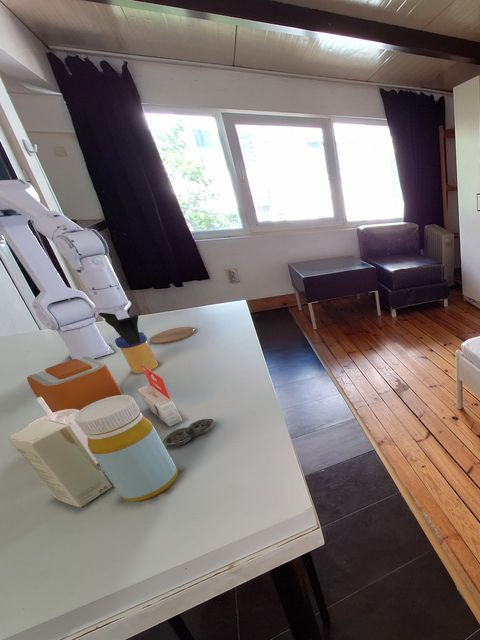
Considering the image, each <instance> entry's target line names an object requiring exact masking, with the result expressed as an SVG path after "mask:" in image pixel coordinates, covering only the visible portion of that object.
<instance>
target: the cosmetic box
mask: <svg viewBox="0 0 480 640" xmlns="http://www.w3.org/2000/svg"><path fill="white" fill-rule="evenodd" d="M6 439H7V440H8V441H9V442H10V444H11V445H12V447H14V449H15V450H16V451H17V452H18V453H19V455H20V456H21V457H22V459H23V460H24V461H25V462H26V463H27V465H28V466H29V467H30V468H31V469H32V471H33V472H34V473H35V474H36V476H37V477H38V478H39V479H40V480H41V482H42V483H43V485H44V486H45V487H46V488H47V489H48V490H49V492H50V493H51V494H52V495H53V496H54V497H55V499H56V500H58V501H60V502H62V503H65V504H68V505H71V506H74V507H77V508H82V507H84V506H85V505H87V504H89V503H90V502H92V501H93V500H94V499H96V498H97V497H99V496H100V495H102V494H104V493H105V492H107V491H108V490H109V489H111V488H112V487H113V484H112V483H111V482H110V480H108V479H107V478H108V477H106V476H105V473H103V472H102V470H101V469H100V468H99V467H100V466H98V464H96V463H95V462H94V460H93V459H92V457H91V456H90V455H89V453H88V452H87V450H86V449H85V448H84V446H83V445H82V443H81V442H80V441H79V439H78V438H77V436H76V435H75V433H74V432H73V431H72V429H71V428H70V426H69V425H67V424H64V423H60V422H56V421H51V420H46V419H45V420H43V421H41V422H38V423H36V424H34V425H32V426H30V427H28V428H26V427H24V428H23V429H21V430H19V431H17V432H14V433H12V434H10V435H8V436H7V437H6Z"/></svg>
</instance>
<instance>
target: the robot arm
mask: <svg viewBox="0 0 480 640" xmlns="http://www.w3.org/2000/svg"><path fill="white" fill-rule="evenodd" d="M39 196H40V195H39V194H38V192H37V191H36V189H35V188H34V186H33V185H32V184H31V183H30V182H28V181H26V180H25V179H24V178H16V179H1V180H0V234H1V235H2V236H3V238H4V240H5V241H6V242H7V244H8V245H9V248H11V250H12V251H13V253H14V254H15V256H16V257H17V258H18V260H19V262H20V263H21V265H22V266H23V268H24V269H25V271H26V272H27V274H28V275H29V276H30V278H31V280H32V282H33V283H34V284H35V286H36V287H37V289H38V290H39V291H40V292H39V294H38V295H37V296H36V297H35V298H34V299H33V301H32V303H31V305H32V308H33V310H34V312H35V314H36V317H37V318H38V320H39V321H40V323H41V324H42V325H43V326H44V327H45V328H47V329H48V330H51V331H57V333H58V335H59V336H60V338H61V339H62V341H63V343H64V344H65V347H66V348H67V349H68V352H69V356H70V358H71V360H73V359H80V358H83V357H90V358H93V359H96V358H100V357H104V356H107V355H111V354H113V353H114V350H113V349H112V348H111V347H110V346H109V344H108V343H107V342H106V341H105V339H104V337H103V336H102V334H101V332H100V331H99V329H98V326H97V325H96V323H95V322H97V318H98V315H99V316H100V317H101V318H102V319H104V322H106V324H108V325H109V326H111V327H112V328H113V329H114V331H116V333H117V334H118V335H119V337H121V336H122V337H123V339H124V340H125V341H126V342H127V343H128V344H129V345H134V344H137V343H140V336H139V332H140V331H139V326H138V323H139V314H138V313H133V314H130V310H131V308H130V307H131V306H132V302H131V301H130V300H129V299H128V297H127V295H126V292H125V291H124V289H123V287H122V285H121V282H120V281H119V278H118V277H117V274H116V273H115V271H114V268H113V266H112V265H111V263H110V261H109V258H108V257H107V256H108V255H109V253H110V250H109V246H108V243H107V241H106V239H105V238H104V237H103V236H102V234H101V233H100V232H99V231H98V230H96V229H94V228H87V227H85V228H83V227H81V226H80V225H79V224H77V223H76V222H74V221H72V220H71V219H70V218H68V217H67V216H66V215H64V214H63V213H61V212H58V211H56V210H50V209H49V208H47V207H46V206H45V205H44V204H43V203H42V202H41V199H40V197H39ZM29 221H31V222H33V227H34V228H35V230H36V231H37V232H38V233H40V234H41V235H42V236H44V237H46V238H47V239H48V240H50V241H51V242H52V243H54V244H55V245H56V247H57V249H58V251H59V253H60V254H61V255H62V256H63V257H64V259H65V260H66V261H67V262H68V264H69V266H70V267H71V268H72V269H73V270H75V271H76V272H77V274H78V277H79V278H80V280H81V282H82V284H83V286H84V287H85V289H86V291H87V293H88V295H89V297H90V298H91V299H90V298H89V297H88V296H87V294H86V293H85V292H84V291H82V290H79V289H75V288H72V287H68V286H67V285H66V283H65V282H64V280H63V278H62V277H61V275H60V274H59V272H58V271H57V269H56V268H55V266H54V264H53V262H52V261H51V260H50V258H49V256H48V255H47V253H46V251H45V250H44V249H43V247H42V246H41V244H40V243H39V241H38V239H37V238H36V236H35V234H34V233H33V231H32V230H31V228H30V227H29V225H28V224H29ZM63 300H64V301H63Z"/></svg>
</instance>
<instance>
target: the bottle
mask: <svg viewBox="0 0 480 640" xmlns="http://www.w3.org/2000/svg"><path fill="white" fill-rule="evenodd" d="M142 413H143V412H142V411H141V410H140V407H139V405H138V404H137V402H136V400H135V398H134V397H133V396H132V395H130V394H123V395H117V396H112V397H108V398H105V399H102V400H99V401H96V402H94V403H92V404H90V405H88V406H86V407H84V408H83V409H81V410H80V411H79V412H77V413H76V415H75V421H76V423H77V424H78V426H79V427H80V428H81V430H82V431H83V432H84V434H85V436H86V437H87V439H88V448H89V449H90V451H91V453H92V454H93V456H94V457H95V459H96V460H97V462H98V465H99V467H100V468H101V469H102V470H103V472H104V474H105V475H106V476H107V478H108V479H109V482H110V483H111V485H112V486H113V487H114V488H115V490H116V491H117V493H118V494H119V495H120V498H122V499H123V500H124V501H127V502H143V501H146V500H151V499H153V498H154V497H157V496H158V495H161V494H162V493H164V492H165V491H166V490H167V489H169V488H170V487H171V486H172V485H173V483H174V482H175V480H176V479H177V477H178V473H179V472H178V469H177V466H176V464H175V462H174V461H173V459H172V457H171V455H170V454H169V452H168V450H167V448H166V446H165V444H163V440H162V439H161V438H160V436H159V434H158V432H157V430H156V429H155V427H154V424H153V423H152V422H151V420H150V419H148V418H146V416H144V415H143V414H142Z"/></svg>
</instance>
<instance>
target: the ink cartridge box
mask: <svg viewBox="0 0 480 640" xmlns="http://www.w3.org/2000/svg"><path fill="white" fill-rule="evenodd" d="M141 367H142V369H143V371H144V373H143V374H144V376H145V377H146V380H147V381H148V385H145V386H142V387H140V388H137V391H138V392H139V394H140V397H141V398H142V400H143V401H144V403H145V405H146V406H147V408H148V410H149V411H150V412H152V414H154V415H155V416H156V417H158V418H159V419H160V420H161V421H162V422H163V423H165V424H166V425H167V426H168V427H173V426H174V425H176V424H178V423H181V422H182V421H183V418H182V417H181V415H180V413H179V411H178V409H177V407H176V405H175V403H174V402H173V400H172V398H171V396H170V393H169V391H168V388H167V385H166V383H165V380H164V378H163V377H161V376H159V375H158V374H157V373H155V372H154V371H153V370H149V369H147V368H146V367H144V366H143V365H141ZM153 377H154V378H153Z"/></svg>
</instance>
